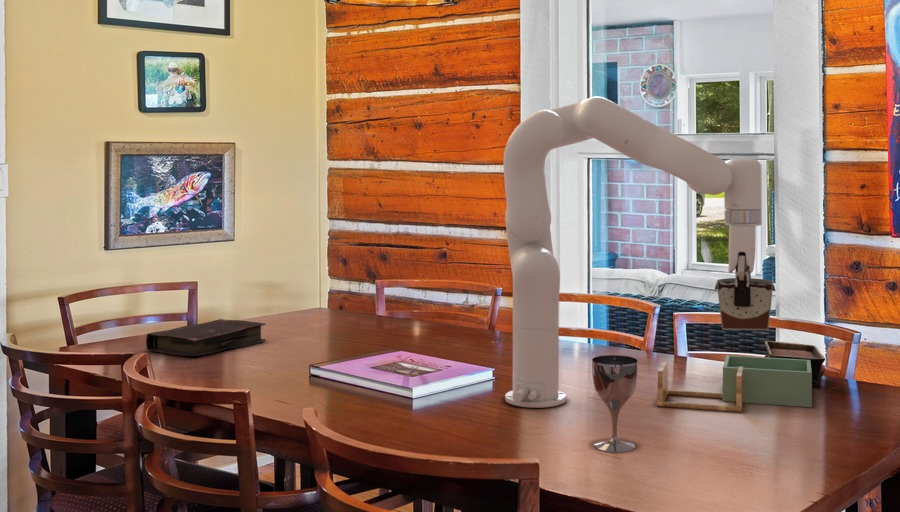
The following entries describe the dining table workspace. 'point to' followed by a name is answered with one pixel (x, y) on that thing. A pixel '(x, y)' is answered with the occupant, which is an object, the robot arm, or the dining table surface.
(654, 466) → the dining table surface
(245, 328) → the diary
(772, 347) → the dark brown tapered box
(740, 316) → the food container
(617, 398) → the wine glass
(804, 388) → the tub
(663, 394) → the drying rack
